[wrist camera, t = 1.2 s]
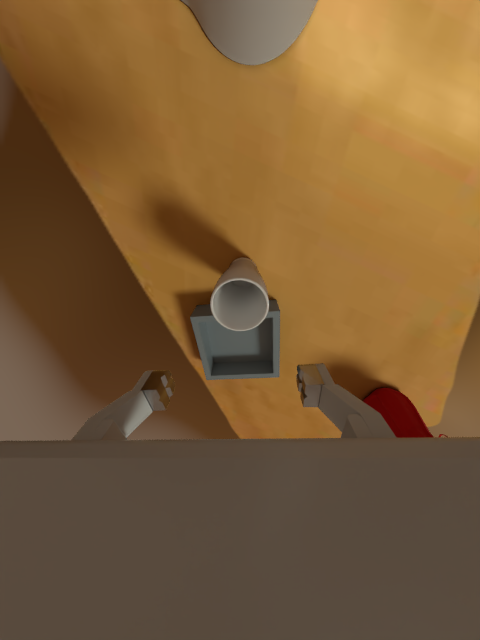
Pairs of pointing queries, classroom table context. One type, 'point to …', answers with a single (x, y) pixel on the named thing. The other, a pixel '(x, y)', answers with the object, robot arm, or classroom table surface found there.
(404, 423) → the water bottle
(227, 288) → the drinking glass
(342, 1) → the classroom table surface
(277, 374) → the bin
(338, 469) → the robot arm
